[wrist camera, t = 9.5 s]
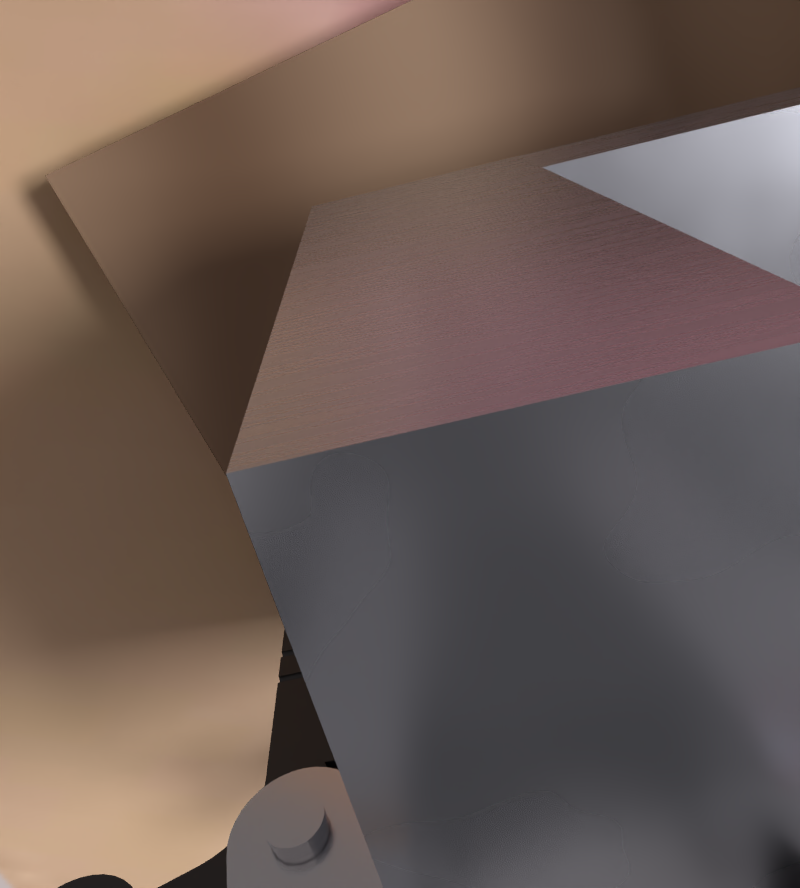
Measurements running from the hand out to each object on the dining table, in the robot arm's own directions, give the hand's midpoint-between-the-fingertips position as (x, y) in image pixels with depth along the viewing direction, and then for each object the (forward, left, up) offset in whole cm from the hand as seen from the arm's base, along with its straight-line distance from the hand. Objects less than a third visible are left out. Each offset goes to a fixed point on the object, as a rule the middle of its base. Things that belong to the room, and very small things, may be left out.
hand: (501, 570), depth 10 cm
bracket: (-2, +1, -3) cm, 4 cm away
